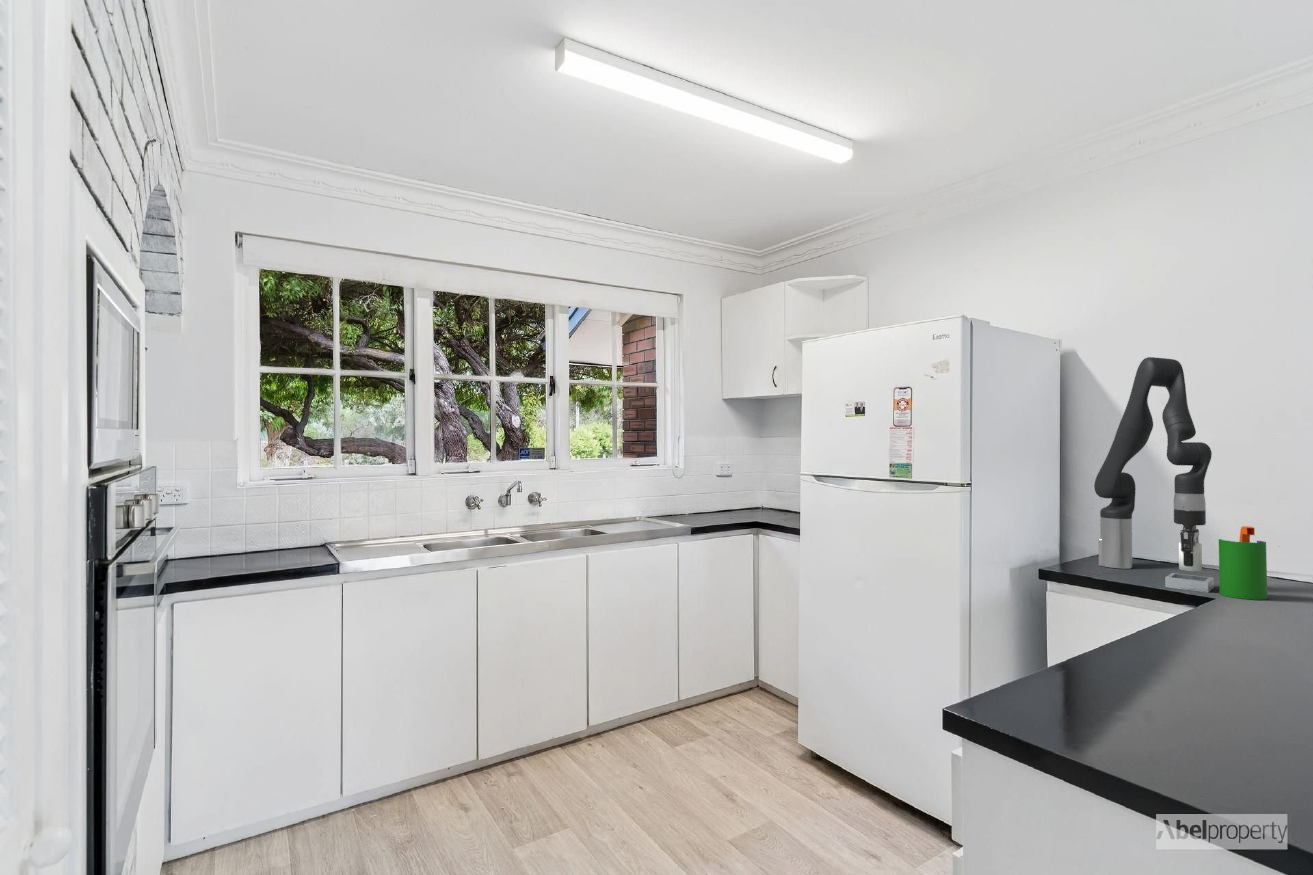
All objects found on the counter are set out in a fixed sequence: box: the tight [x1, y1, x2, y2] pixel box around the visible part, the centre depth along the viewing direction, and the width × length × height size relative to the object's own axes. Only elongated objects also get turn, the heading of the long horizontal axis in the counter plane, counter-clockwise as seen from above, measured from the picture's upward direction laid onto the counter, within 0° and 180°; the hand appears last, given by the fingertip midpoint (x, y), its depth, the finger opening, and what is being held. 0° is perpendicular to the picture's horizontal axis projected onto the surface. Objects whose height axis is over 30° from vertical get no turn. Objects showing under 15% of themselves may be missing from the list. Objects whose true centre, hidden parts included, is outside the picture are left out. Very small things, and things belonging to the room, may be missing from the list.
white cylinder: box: [1178, 541, 1203, 572], centre depth 201 cm, size 5×5×9 cm
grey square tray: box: [1164, 572, 1215, 593], centre depth 201 cm, size 10×10×3 cm
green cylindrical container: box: [1218, 525, 1268, 601], centre depth 189 cm, size 10×9×20 cm
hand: (1190, 564), depth 201 cm, fingers closed on white cylinder, 5 cm apart
